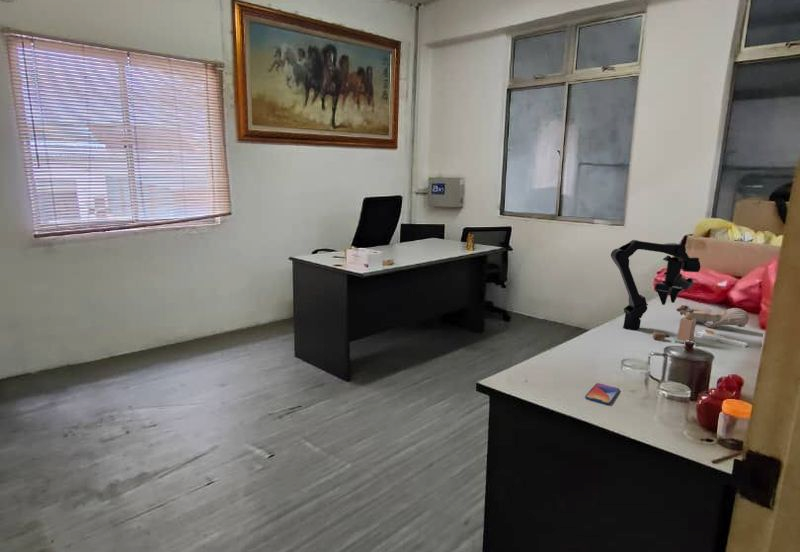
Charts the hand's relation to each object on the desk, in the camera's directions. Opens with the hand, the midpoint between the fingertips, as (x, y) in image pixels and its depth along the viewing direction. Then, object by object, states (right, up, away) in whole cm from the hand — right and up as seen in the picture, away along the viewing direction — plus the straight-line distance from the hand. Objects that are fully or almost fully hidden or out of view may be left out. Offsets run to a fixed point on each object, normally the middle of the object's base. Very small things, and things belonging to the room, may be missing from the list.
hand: (668, 303), depth 228 cm
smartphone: (-61, -25, -74) cm, 99 cm away
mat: (0, -16, -14) cm, 21 cm away
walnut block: (-11, -15, -12) cm, 22 cm away
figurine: (+28, -12, +14) cm, 34 cm away
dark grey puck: (-6, -14, -6) cm, 16 cm away
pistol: (+21, -16, -7) cm, 27 cm away
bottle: (0, -15, -14) cm, 21 cm away
